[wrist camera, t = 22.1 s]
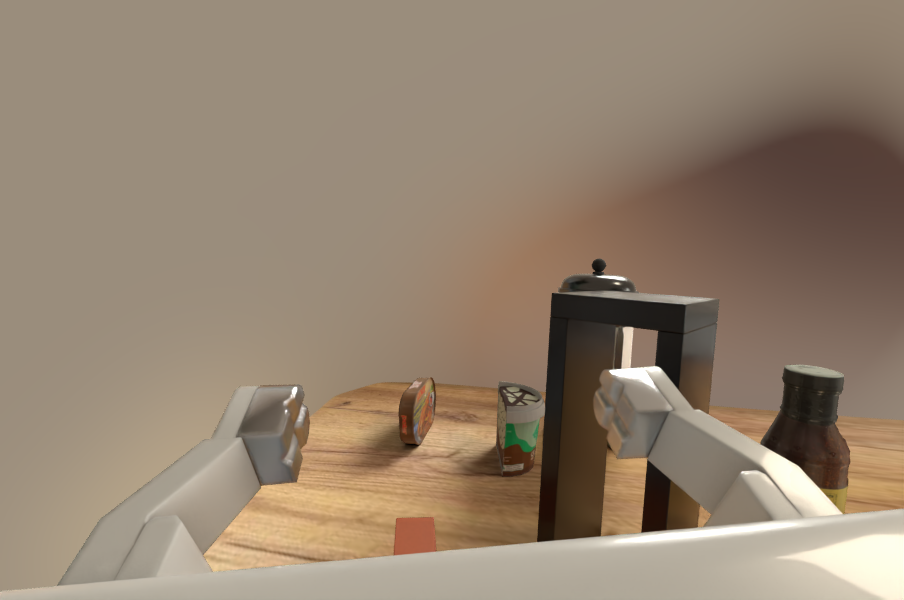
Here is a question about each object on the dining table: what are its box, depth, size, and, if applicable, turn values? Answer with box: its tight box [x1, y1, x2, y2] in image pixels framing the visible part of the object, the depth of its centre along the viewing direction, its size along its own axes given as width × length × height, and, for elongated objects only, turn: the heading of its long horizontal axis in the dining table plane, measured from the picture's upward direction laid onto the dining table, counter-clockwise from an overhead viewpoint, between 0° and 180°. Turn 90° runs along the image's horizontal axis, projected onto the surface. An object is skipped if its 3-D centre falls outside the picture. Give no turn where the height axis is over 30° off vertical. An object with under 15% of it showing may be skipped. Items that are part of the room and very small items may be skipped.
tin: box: [399, 377, 436, 445], centre depth 66 cm, size 15×3×8 cm, turn 170°
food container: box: [496, 382, 545, 476], centre depth 57 cm, size 12×6×10 cm, turn 179°
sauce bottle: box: [760, 365, 850, 514], centre depth 37 cm, size 6×6×20 cm
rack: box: [537, 291, 719, 542], centre depth 34 cm, size 10×10×26 cm
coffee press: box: [558, 259, 639, 448], centre depth 69 cm, size 17×16×30 cm
